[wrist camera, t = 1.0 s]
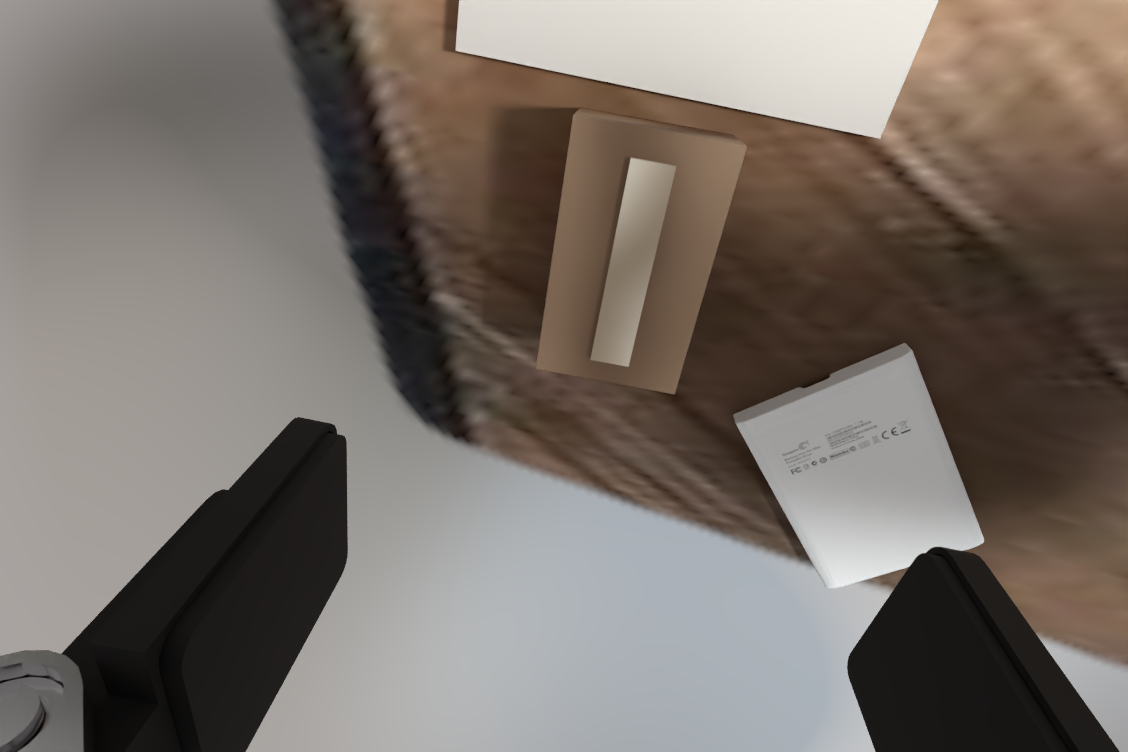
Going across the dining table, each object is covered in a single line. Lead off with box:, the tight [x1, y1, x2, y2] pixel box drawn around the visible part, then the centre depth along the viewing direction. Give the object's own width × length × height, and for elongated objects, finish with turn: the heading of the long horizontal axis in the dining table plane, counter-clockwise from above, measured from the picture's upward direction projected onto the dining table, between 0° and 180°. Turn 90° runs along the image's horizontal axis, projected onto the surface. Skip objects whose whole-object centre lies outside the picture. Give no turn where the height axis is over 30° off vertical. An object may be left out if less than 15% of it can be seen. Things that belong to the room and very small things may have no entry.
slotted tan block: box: [536, 108, 747, 394], centre depth 23 cm, size 6×10×4 cm, turn 171°
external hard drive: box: [733, 343, 984, 588], centre depth 29 cm, size 2×8×12 cm
